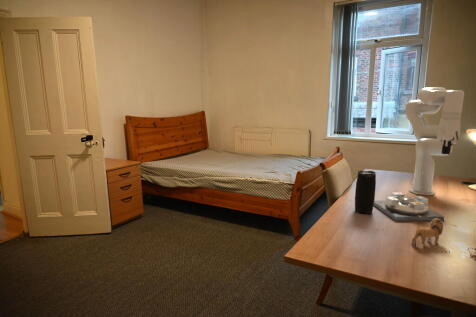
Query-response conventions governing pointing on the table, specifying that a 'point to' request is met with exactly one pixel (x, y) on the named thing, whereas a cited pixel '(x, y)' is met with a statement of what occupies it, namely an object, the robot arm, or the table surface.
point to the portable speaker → (365, 191)
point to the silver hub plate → (407, 204)
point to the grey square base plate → (407, 217)
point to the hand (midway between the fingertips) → (445, 153)
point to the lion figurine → (429, 232)
